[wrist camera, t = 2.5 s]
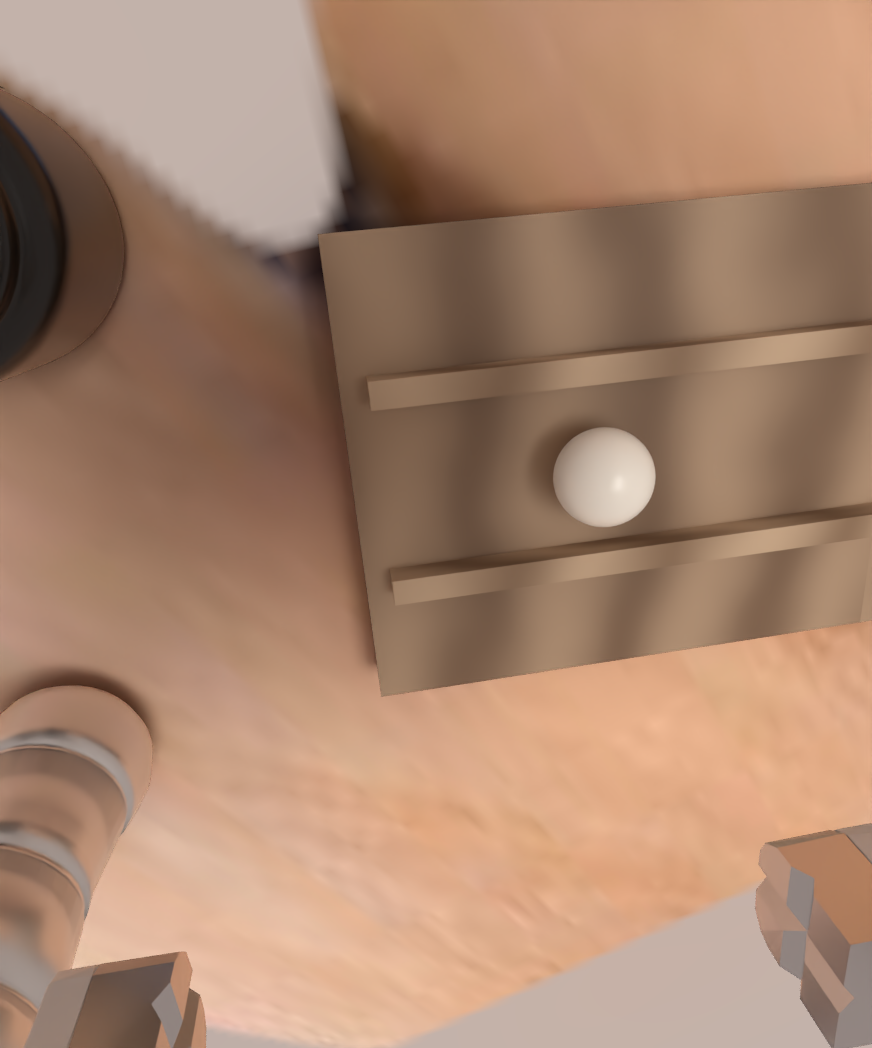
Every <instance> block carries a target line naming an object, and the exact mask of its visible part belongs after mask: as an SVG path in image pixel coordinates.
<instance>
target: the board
mask: <svg viewBox="0 0 872 1048" xmlns="http://www.w3.org/2000/svg"><path fill="white" fill-rule="evenodd" d="M318 240H319V248H320V255H321V262H322V269H323V277H324V284H325V291H326V298H327V306H328V313H329V320H330V327H331V335H332V342H333V349H334V356H335V364H336V371H337V378H338V385H339V393H340V400H341V407H342V414H343V422H344V429H345V436H346V443H347V451H348V458H349V465H350V472H351V480H352V487H353V494H354V501H355V509H356V516H357V523H358V530H359V538H360V545H361V552H362V559H363V567H364V574H365V581H366V588H367V596H368V603H369V610H370V617H371V625H372V632H373V639H374V646H375V654H376V661H377V668H378V675H379V683H380V690H381V697H383V696H390V695H396V694H403V693H409V692H415V691H422V690H428V689H435V688H441V687H448V686H454V685H460V684H467V683H473V682H480V681H486V680H493V679H499V678H505V677H512V676H518V675H525V674H531V673H538V672H544V671H550V670H557V669H563V668H570V667H576V666H583V665H589V664H595V663H602V662H608V661H615V660H621V659H628V658H634V657H640V656H647V655H653V654H660V653H666V652H673V651H679V650H686V649H692V648H698V647H705V646H711V645H718V644H724V643H731V642H737V641H743V640H750V639H756V638H763V637H769V636H776V635H782V634H788V633H795V632H801V631H808V630H814V629H821V628H827V627H833V626H840V625H846V624H853V623H859V622H866V621H872V183H865V184H854V185H843V186H832V187H821V188H811V189H800V190H789V191H778V192H768V193H757V194H746V195H735V196H724V197H714V198H703V199H692V200H681V201H671V202H660V203H649V204H638V205H627V206H617V207H606V208H595V209H584V210H574V211H563V212H552V213H541V214H530V215H520V216H509V217H498V218H487V219H476V220H466V221H455V222H444V223H433V224H423V225H412V226H401V227H390V228H379V229H369V230H358V231H347V232H336V233H326V234H318ZM599 427H609V428H616V429H620V430H623V431H626V432H628V433H630V434H632V435H633V436H635V437H636V438H637V439H638V440H640V441H641V442H642V443H643V444H644V446H645V447H646V448H647V450H648V451H649V453H650V455H651V457H652V460H653V463H654V467H655V476H656V478H655V486H654V490H653V493H652V496H651V498H650V500H649V502H648V503H647V505H646V506H645V508H644V509H643V510H642V511H641V512H640V513H639V514H638V515H637V516H635V517H634V518H633V519H631V520H629V521H627V522H625V523H623V524H620V525H617V526H612V527H595V526H590V525H587V524H584V523H582V522H580V521H578V520H576V519H575V518H574V517H572V516H571V515H570V514H569V513H568V512H567V511H566V510H565V509H564V508H563V507H562V505H561V504H560V502H559V500H558V498H557V496H556V493H555V489H554V484H553V472H554V466H555V463H556V460H557V458H558V455H559V454H560V452H561V450H562V449H563V448H564V446H565V445H566V444H567V443H568V442H569V441H570V440H571V439H572V438H574V437H575V436H577V435H578V434H580V433H582V432H584V431H587V430H590V429H593V428H599Z"/></svg>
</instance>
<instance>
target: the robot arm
mask: <svg viewBox="0 0 872 1048" xmlns="http://www.w3.org/2000/svg"><path fill="white" fill-rule="evenodd" d="M759 866H760V868H761V869H762V871H763V872H764V873H765V875H766V876H767V877H766V878H765V879H764V881H763V882H762V883H761V884H760V886H759V887H758V888H757V889H756V906H755V909H756V914H757V918H758V922H759V925H760V930H761V932H762V935H763V937H764V939H765V941H766V944H767V946H768V948H769V950H770V951H771V953H772V954H773V956H774V958H775V959H776V961H777V963H778V964H779V966H780V967H782V968H783V969H785V970H787V971H788V972H790V973H791V974H793V975H794V976H796V977H797V978H799V979H800V980H801V990H800V999H801V1001H802V1002H803V1004H804V1006H805V1007H806V1009H807V1010H808V1012H809V1013H810V1015H811V1017H812V1018H813V1020H814V1021H815V1023H816V1025H817V1026H818V1028H819V1029H820V1031H821V1032H822V1034H823V1035H824V1037H825V1039H826V1040H827V1042H828V1043H829V1045H830V1046H831V1048H853V1047H858V1046H864V1045H869V1044H872V824H871V823H869V824H864V825H859V826H853V827H848V828H842V829H837V830H834V831H831V830H828V831H823V832H818V833H813V834H808V835H803V836H798V837H793V838H788V839H783V840H778V841H773V842H768V843H765V844H764V846H763V847H762V849H761V850H760V856H759ZM191 975H192V967H191V964H190V962H189V959H188V956H187V953H186V952H175V953H168V954H162V955H155V956H149V957H143V958H136V959H130V960H123V961H117V962H110V963H104V964H100V965H94V966H88V967H82V968H76V969H70V970H64V971H59V972H58V973H57V974H56V976H55V977H54V978H53V980H52V981H51V982H50V984H49V985H48V987H47V989H46V992H45V994H44V997H43V999H42V1002H41V1004H40V1007H39V1010H38V1012H37V1015H36V1017H35V1020H34V1022H33V1025H32V1027H31V1030H30V1032H29V1035H28V1038H27V1040H26V1043H25V1045H24V1048H206V1022H205V1014H204V1008H203V1004H202V1000H201V997H200V995H199V994H198V993H196V992H194V991H193V990H191V989H190V988H189V986H190V981H191Z"/></svg>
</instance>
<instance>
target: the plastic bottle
mask: <svg viewBox="0 0 872 1048" xmlns="http://www.w3.org/2000/svg"><path fill="white" fill-rule="evenodd" d="M152 758H153V748H152V740H151V737H150V734H149V731H148V729H147V727H146V725H145V724H144V722H143V721H142V719H141V718H140V717H139V716H138V715H137V713H136V712H135V711H134V710H133V709H132V708H131V707H130V706H129V705H128V704H127V703H125V702H124V701H122V700H121V699H120V698H118V697H117V696H114V695H112V694H110V693H108V692H106V691H103V690H100V689H97V688H94V687H87V686H80V685H67V686H57V687H50V688H44V689H41V690H38V691H35V692H32V693H29V694H27V695H25V696H23V697H22V698H20V699H18V700H16V701H15V702H14V703H13V704H12V705H11V706H9V707H8V708H7V709H6V710H5V711H4V712H3V713H2V714H0V1048H24V1045H25V1043H26V1040H27V1038H28V1035H29V1032H30V1030H31V1027H32V1025H33V1022H34V1020H35V1017H36V1015H37V1012H38V1010H39V1007H40V1004H41V1002H42V999H43V997H44V994H45V992H46V989H47V987H48V985H49V984H50V982H51V981H52V980H53V978H54V977H55V976H56V974H57V973H58V972H59V971H64V970H70V969H71V968H72V964H73V961H74V958H75V954H76V951H77V947H78V944H79V941H80V937H81V934H82V930H83V924H84V920H85V918H86V916H87V913H88V910H89V906H90V903H91V899H92V896H93V892H94V890H95V888H96V886H97V883H98V881H99V879H100V877H101V875H102V873H103V871H104V868H105V866H106V864H107V862H108V860H109V858H110V856H111V853H112V851H113V849H114V847H115V845H116V843H117V841H118V838H119V837H120V835H121V834H122V833H123V832H124V830H125V829H126V827H127V826H128V825H129V823H130V822H131V820H132V819H133V817H134V815H135V813H136V811H137V809H138V807H139V805H140V804H141V802H142V800H143V798H144V796H145V794H146V792H147V789H148V787H149V784H150V779H151V773H152Z"/></svg>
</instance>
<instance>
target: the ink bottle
mask: <svg viewBox="0 0 872 1048" xmlns="http://www.w3.org/2000/svg"><path fill="white" fill-rule="evenodd" d="M0 87H1V86H0ZM1 88H2V87H1ZM123 264H124V240H123V233H122V227H121V223H120V219H119V215H118V212H117V209H116V206H115V204H114V201H113V199H112V196H111V194H110V192H109V190H108V188H107V186H106V184H105V182H104V181H103V179H102V177H101V175H100V174H99V172H98V171H97V169H96V168H95V166H94V165H93V163H92V162H91V160H90V159H89V158H88V156H87V155H86V154H85V153H84V151H83V150H82V149H81V148H80V147H79V146H78V144H77V143H76V142H75V141H74V140H73V139H72V138H71V137H70V136H69V135H68V134H67V133H66V132H65V131H64V130H63V129H62V128H61V127H59V126H58V125H57V124H56V123H55V122H54V121H52V120H51V119H50V118H48V117H47V116H46V115H44V114H43V113H42V112H40V111H39V110H37V109H36V108H34V107H33V106H31V105H29V104H28V103H26V102H24V101H23V100H21V99H19V98H17V97H15V96H13V95H11V94H9V93H7V92H5V91H3V90H1V89H0V382H1V381H4V380H6V379H9V378H11V377H14V376H16V375H19V374H21V373H24V372H26V371H29V370H32V369H34V368H37V367H39V366H42V365H44V364H47V363H49V362H52V361H54V360H56V359H58V358H60V357H62V356H64V355H66V354H67V353H69V352H71V351H72V350H74V349H75V348H77V347H78V346H79V345H80V344H82V343H83V342H84V341H85V340H86V339H87V338H88V337H89V336H90V335H91V334H92V333H93V332H94V331H95V330H96V329H97V328H98V326H99V325H100V324H101V322H102V321H103V320H104V318H105V317H106V315H107V313H108V312H109V310H110V308H111V306H112V304H113V302H114V299H115V297H116V294H117V292H118V289H119V285H120V282H121V277H122V272H123Z"/></svg>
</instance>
